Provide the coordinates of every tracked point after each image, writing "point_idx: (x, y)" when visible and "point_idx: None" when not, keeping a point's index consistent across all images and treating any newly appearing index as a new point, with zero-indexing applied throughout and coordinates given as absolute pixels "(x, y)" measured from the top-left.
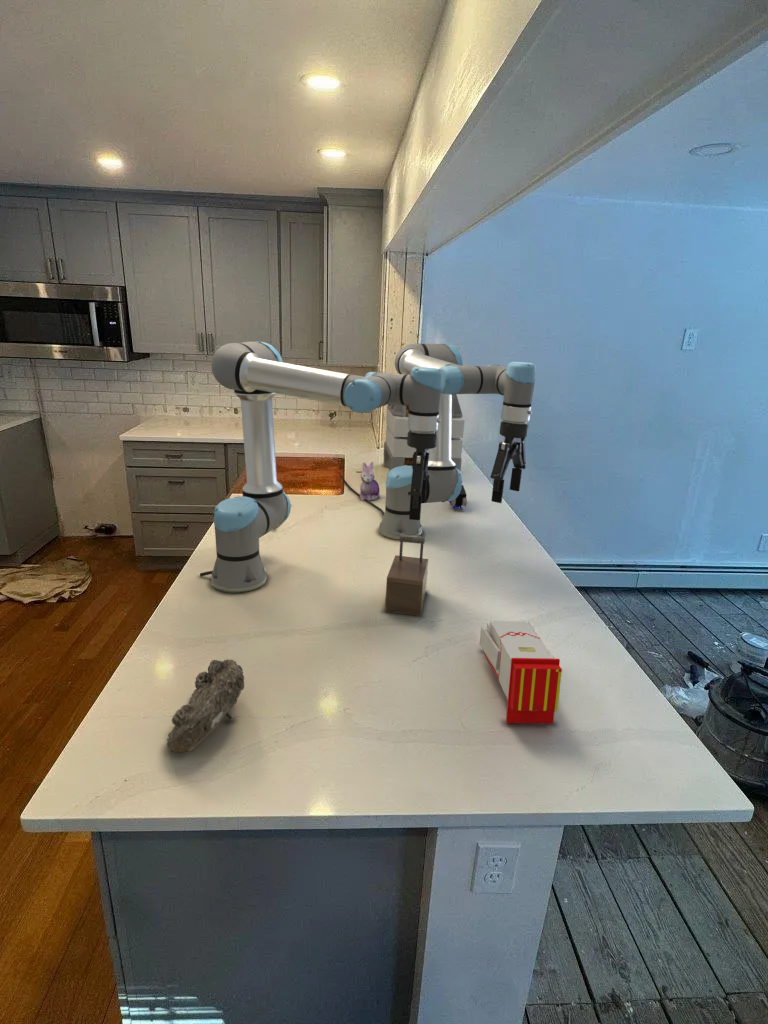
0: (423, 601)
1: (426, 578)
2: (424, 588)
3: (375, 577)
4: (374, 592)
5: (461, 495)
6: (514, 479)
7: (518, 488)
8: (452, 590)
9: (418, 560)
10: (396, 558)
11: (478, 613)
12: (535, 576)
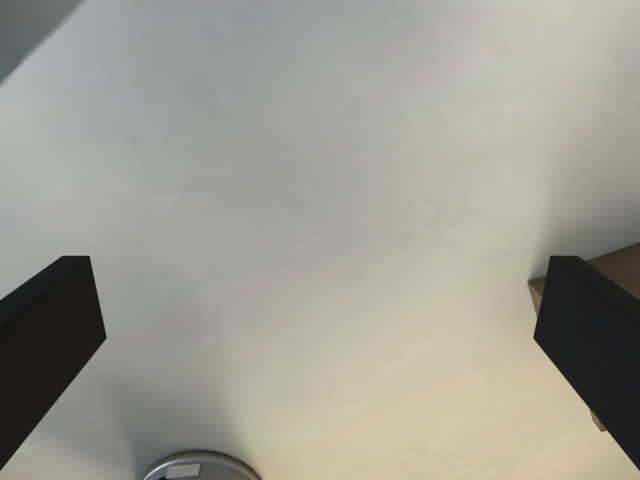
0: (599, 259)
1: None
2: (625, 278)
3: (511, 414)
4: None
5: None
6: (30, 381)
7: (73, 271)
8: (477, 226)
9: None
10: None
11: (588, 95)
12: (199, 30)
